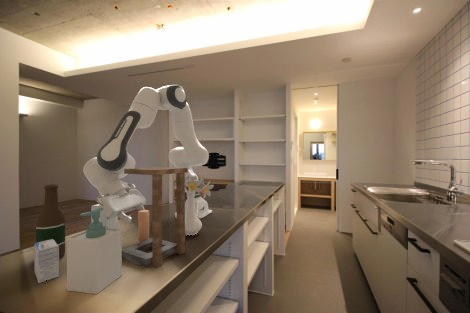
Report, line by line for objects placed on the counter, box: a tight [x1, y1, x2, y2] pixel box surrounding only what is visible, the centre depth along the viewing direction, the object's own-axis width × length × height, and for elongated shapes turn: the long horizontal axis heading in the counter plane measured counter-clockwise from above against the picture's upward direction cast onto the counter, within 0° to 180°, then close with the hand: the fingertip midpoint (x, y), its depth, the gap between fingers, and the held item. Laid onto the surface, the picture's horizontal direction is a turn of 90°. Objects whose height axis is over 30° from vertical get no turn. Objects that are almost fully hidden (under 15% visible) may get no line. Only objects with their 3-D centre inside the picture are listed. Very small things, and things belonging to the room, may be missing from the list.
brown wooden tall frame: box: [122, 166, 188, 269], centre depth 72 cm, size 14×16×29 cm
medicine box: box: [33, 239, 60, 284], centre depth 60 cm, size 8×4×9 cm, turn 48°
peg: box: [137, 209, 150, 244], centre depth 83 cm, size 4×4×12 cm
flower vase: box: [172, 176, 215, 237], centre depth 93 cm, size 13×18×25 cm
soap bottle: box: [66, 208, 123, 295], centre depth 56 cm, size 9×9×19 cm
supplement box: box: [90, 203, 119, 229], centre depth 94 cm, size 7×7×13 cm
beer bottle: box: [35, 183, 66, 260], centre depth 71 cm, size 8×8×24 cm
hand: (137, 218), depth 83 cm, fingers open, 8 cm apart
